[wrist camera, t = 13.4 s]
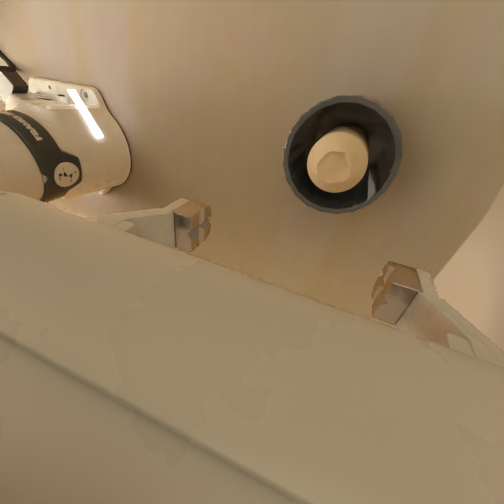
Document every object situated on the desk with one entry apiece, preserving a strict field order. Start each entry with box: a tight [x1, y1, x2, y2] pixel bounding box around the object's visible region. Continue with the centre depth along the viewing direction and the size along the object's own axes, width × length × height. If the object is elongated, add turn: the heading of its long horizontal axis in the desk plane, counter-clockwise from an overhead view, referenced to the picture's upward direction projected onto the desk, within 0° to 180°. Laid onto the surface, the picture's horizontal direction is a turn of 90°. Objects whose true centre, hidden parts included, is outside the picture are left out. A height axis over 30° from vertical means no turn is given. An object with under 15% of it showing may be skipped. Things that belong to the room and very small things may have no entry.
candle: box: [307, 124, 369, 193], centre depth 27 cm, size 6×6×10 cm
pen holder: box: [283, 96, 402, 214], centre depth 28 cm, size 11×11×9 cm
